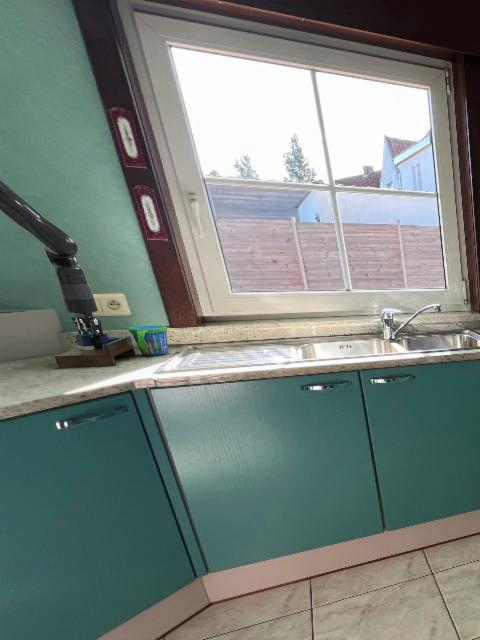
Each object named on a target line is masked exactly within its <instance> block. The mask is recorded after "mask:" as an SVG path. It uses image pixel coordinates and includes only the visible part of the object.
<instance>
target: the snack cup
mask: <svg viewBox="0 0 480 640" xmlns="http://www.w3.org/2000/svg"><path fill="white" fill-rule="evenodd" d="M167 331H168V327H167V326H166V325H159V324H155V325H154V324H152V325H151V324H149V325H147V324H146V325H136V326H131V327H128V332H129V333H130V334H131V335H132V337H133V339H134V341H135V343H136V345H137V347H138V349H139V351H140V353H141V354H142V356H145V357H146V356H147V357H154V356H155V357H158V356H164V355H167V354H168V353H169V345H168V334H167Z"/></svg>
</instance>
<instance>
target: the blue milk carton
mask: <svg viewBox="0 0 480 640" xmlns="http://www.w3.org/2000/svg"><path fill="white" fill-rule="evenodd" d="M74 337H75V340H76V343H77V348H78V349H81V350H93V349H95V348H94V345H93V342H92V339H91V337H90V335H89V334H74ZM118 339H121V337H118V336H109V335H108V333H104V332H103V336H101V341H102V344H103V345H105V344H108V343H110V342H113V341H115V340H118ZM103 347H104V346H103Z"/></svg>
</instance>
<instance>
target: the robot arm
mask: <svg viewBox="0 0 480 640" xmlns="http://www.w3.org/2000/svg"><path fill="white" fill-rule="evenodd" d="M0 212H1V213H2V214H3V215H4V216H5V217H7V218H8V219H9V220H10V221H12V222H13V223H14V224H15V225H16V226H18V227H19V228H20V229H22V230H24V231H25V232H27V233H29V234H31V235H32V236H33V237H35V239H36V240H38V241H39V242H41V243H42V244H41V245H42V247H43V251H44V253H45V254H46V257H47V258H48V261H49V262H50V264H51V266H52V268H53V272H54V274H55V278H56V281H57V284H58V287H59V293H60V295H61V298H62V301H63V304H64V306H65V309H66V312H68V313H70V314H74V316H72V317H71V321H72V322H73V325H74V327H75V329H76V331H77V333H78V335H81V334H89V335H90V337H91V339H92V342H93V345H94V348H95V349H103V348H104V347H103V344H102V341H101V336H103V333H104V331H103V327H102V321H101V319H99V318H98V319H96V317H95V315H94V313H97V312H98V311H99V310H98V307H97V303H96V300H95V297H94V294H93V291H92V289H91V287H90V285H89V283H88V279H87V276H86V274H85V271H84V269H83V268H82V267H81V265H80V264H79V261H78V259H77V256H76V255H77V253H78V252H79V246H78V244H77V242H76V241H75V240H74V239H73V238H72V237H71V236H70V235H69V234H67V233H66V232H65V231H64V230H62V229H61V228H60V227H58V226H56V225H55V224H54V223H53V222H52V221H50V220H49V219H47V217H45V216H44V215H43V214H42V213H41V212H39V210H37V209H36V208H35V207H34V206H32V205H31V204H30V202H28V201H27V200H25V199H24V198H23V197H22V196H21V195H20V194H18V192H16V191H15V190H13V189H12V188H11V187H10V186H9V185H7V184H6V183H5V182H4V181H3V180H2V179H0Z"/></svg>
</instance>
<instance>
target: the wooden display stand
mask: <svg viewBox="0 0 480 640" xmlns="http://www.w3.org/2000/svg"><path fill="white" fill-rule="evenodd" d="M103 346H104V348H103V349H93V350H81V349H78V347H76V348H73V349H70V350H67V351H65V352H61V353H60V354H57V355H54V359H55V362H56V365H57V367H58V369H71V368H97V367H98V368H99V367H113V366H114V367H115V366H116V365H117V364H116V361H115V357H136V356H137V353H136V350H135V347H134V345H133V340H132V338H131V336H130V335H126V336H124V337H120V339H118V340H115V341H113V342H110V343H108V344H105V345H103Z"/></svg>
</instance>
